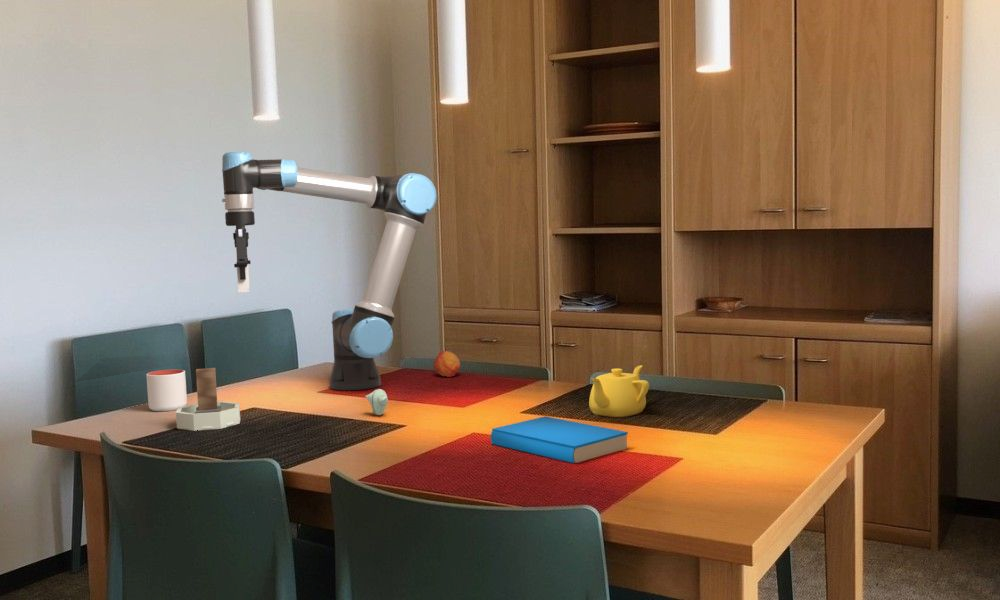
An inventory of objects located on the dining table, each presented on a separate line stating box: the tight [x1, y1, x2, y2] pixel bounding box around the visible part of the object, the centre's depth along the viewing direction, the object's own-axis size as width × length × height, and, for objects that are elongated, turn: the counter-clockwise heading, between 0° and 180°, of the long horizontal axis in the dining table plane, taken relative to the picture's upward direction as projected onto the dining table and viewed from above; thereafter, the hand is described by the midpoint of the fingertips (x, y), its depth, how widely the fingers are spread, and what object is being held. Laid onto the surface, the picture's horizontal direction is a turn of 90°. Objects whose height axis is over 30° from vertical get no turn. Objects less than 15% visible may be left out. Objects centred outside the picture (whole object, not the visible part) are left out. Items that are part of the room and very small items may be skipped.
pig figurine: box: [365, 388, 389, 416], centre depth 250 cm, size 8×4×7 cm, turn 43°
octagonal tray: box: [175, 400, 241, 432], centre depth 248 cm, size 15×15×4 cm
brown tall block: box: [195, 367, 218, 411], centre depth 247 cm, size 4×2×13 cm, turn 103°
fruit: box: [433, 350, 461, 378], centre depth 305 cm, size 8×8×8 cm
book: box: [490, 415, 629, 464], centre depth 212 cm, size 17×4×25 cm
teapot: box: [588, 365, 650, 418], centre depth 244 cm, size 22×16×11 cm
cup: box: [146, 368, 188, 412], centre depth 269 cm, size 10×10×10 cm
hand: (244, 290), depth 265 cm, fingers open, 13 cm apart
